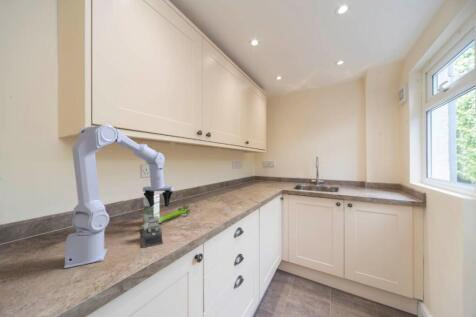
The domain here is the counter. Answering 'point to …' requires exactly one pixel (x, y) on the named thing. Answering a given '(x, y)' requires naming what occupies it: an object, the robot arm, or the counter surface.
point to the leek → (169, 216)
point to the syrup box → (150, 208)
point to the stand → (151, 238)
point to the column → (153, 224)
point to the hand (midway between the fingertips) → (159, 205)
